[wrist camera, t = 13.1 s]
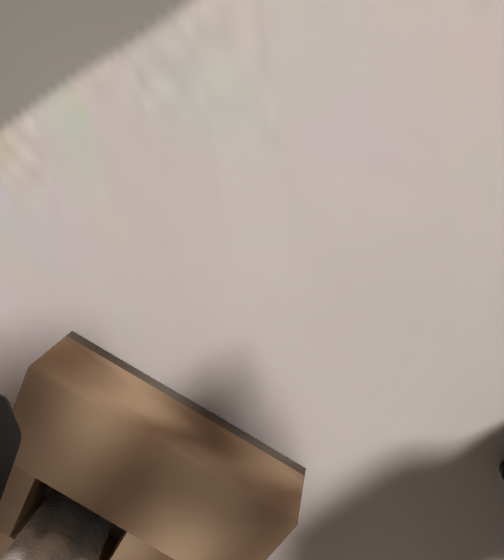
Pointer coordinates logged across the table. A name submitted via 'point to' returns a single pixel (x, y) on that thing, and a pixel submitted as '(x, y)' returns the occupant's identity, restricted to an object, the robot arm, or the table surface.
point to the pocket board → (144, 463)
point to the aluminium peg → (60, 532)
